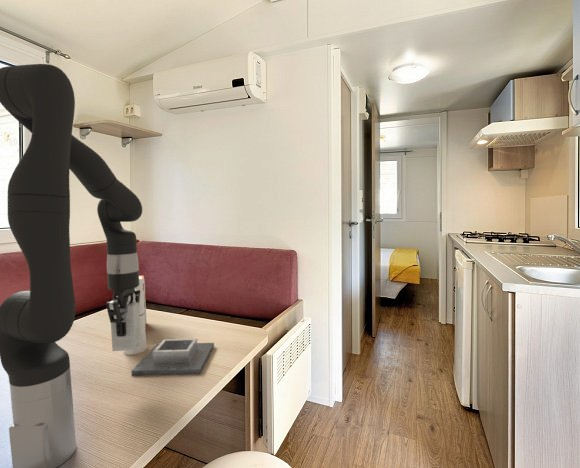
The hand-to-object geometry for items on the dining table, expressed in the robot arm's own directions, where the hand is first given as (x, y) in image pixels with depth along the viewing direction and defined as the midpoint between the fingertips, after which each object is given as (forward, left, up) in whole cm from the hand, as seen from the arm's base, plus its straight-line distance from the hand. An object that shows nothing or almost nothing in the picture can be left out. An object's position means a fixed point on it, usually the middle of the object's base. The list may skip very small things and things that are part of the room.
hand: (126, 332), depth 86 cm
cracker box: (+40, +16, -15) cm, 46 cm away
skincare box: (0, 0, -5) cm, 5 cm away
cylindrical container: (+22, +9, -15) cm, 28 cm away
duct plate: (+14, -8, -15) cm, 22 cm away
